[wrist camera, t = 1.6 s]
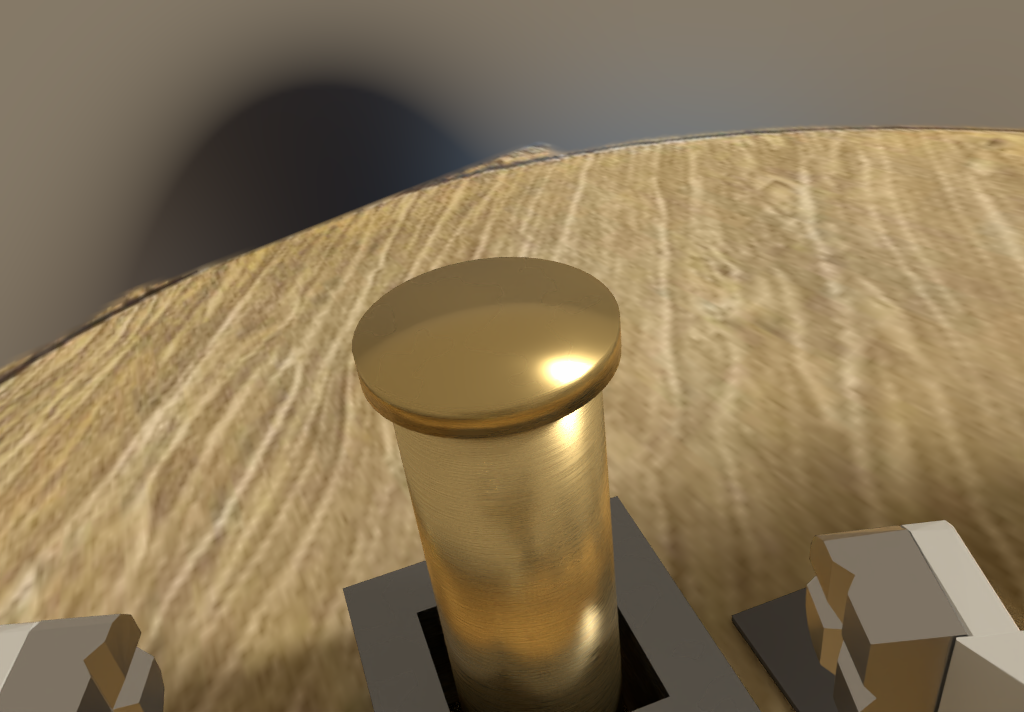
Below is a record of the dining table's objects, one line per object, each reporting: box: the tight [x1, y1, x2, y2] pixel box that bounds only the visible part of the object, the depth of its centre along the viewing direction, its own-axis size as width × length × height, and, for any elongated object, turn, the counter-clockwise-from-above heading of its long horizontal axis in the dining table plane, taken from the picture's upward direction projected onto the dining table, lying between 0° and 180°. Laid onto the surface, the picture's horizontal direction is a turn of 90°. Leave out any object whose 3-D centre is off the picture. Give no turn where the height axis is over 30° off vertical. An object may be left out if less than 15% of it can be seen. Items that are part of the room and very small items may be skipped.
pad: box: [732, 587, 839, 712], centre depth 37 cm, size 10×10×1 cm
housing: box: [343, 496, 761, 712], centre depth 34 cm, size 12×12×6 cm
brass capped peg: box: [352, 257, 624, 712], centre depth 30 cm, size 7×7×20 cm
